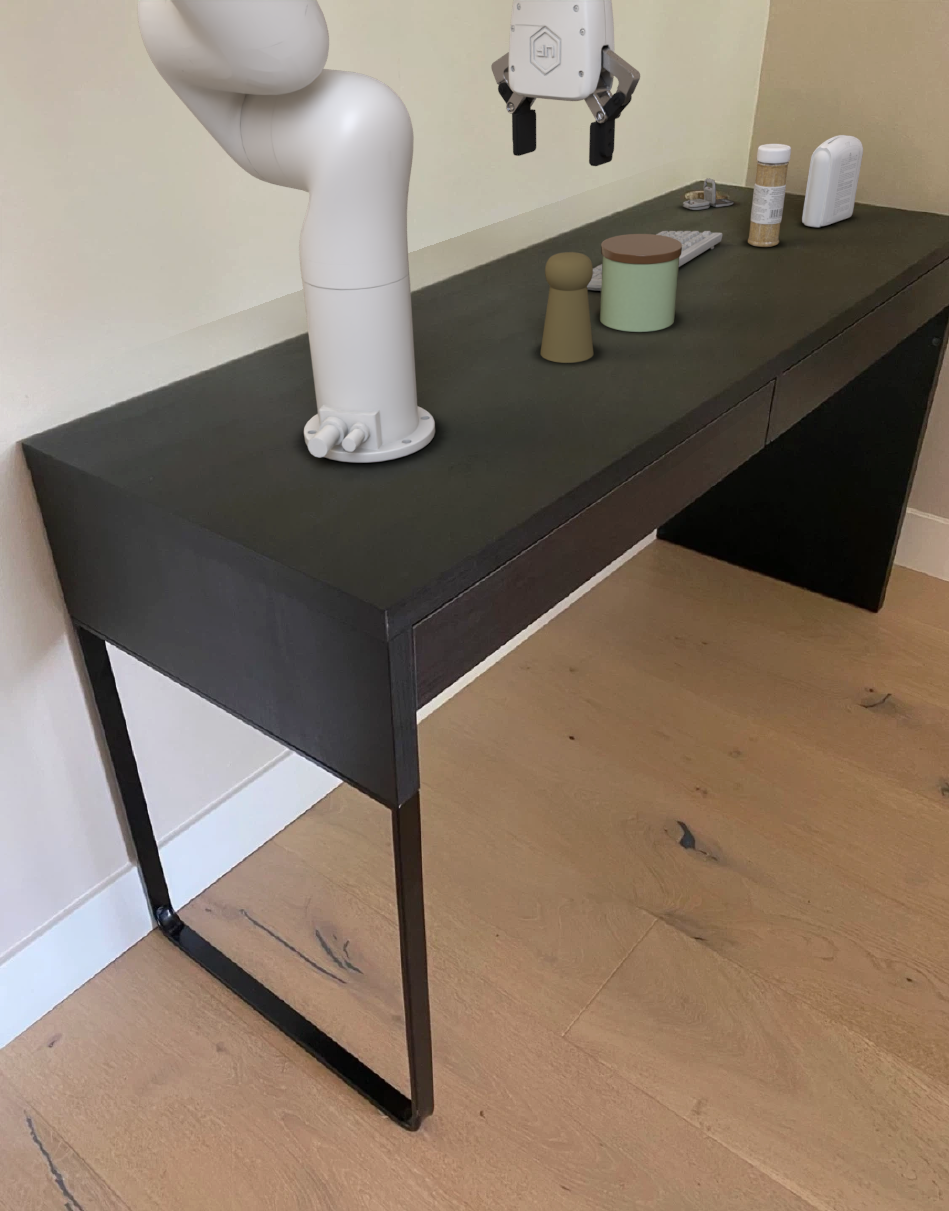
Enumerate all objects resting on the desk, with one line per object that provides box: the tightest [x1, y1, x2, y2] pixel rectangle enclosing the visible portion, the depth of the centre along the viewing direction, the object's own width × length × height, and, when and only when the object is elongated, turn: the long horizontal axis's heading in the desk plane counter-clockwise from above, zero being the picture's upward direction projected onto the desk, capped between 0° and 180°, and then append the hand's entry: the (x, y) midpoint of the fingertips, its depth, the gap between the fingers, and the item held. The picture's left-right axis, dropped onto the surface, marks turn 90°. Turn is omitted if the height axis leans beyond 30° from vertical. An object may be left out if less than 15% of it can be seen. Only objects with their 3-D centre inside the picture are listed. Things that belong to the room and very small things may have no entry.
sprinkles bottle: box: [747, 143, 792, 248], centre depth 149 cm, size 5×5×14 cm
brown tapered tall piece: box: [540, 251, 594, 364], centre depth 115 cm, size 6×6×11 cm
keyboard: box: [587, 230, 723, 292], centre depth 145 cm, size 29×10×2 cm, turn 147°
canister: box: [599, 233, 682, 333], centre depth 124 cm, size 9×9×9 cm
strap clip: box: [682, 178, 735, 211], centre depth 172 cm, size 8×3×4 cm, turn 113°
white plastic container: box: [801, 134, 864, 228], centre depth 159 cm, size 10×4×12 cm, turn 134°
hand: (561, 158), depth 107 cm, fingers open, 9 cm apart
